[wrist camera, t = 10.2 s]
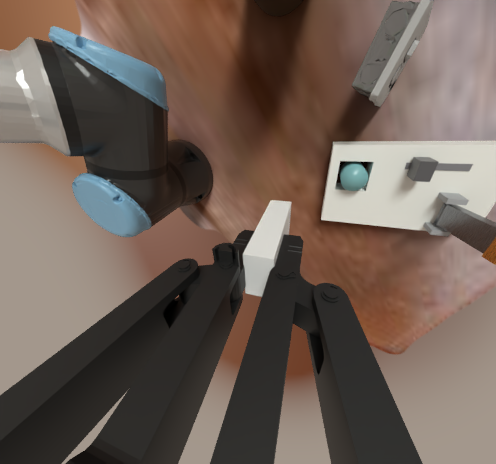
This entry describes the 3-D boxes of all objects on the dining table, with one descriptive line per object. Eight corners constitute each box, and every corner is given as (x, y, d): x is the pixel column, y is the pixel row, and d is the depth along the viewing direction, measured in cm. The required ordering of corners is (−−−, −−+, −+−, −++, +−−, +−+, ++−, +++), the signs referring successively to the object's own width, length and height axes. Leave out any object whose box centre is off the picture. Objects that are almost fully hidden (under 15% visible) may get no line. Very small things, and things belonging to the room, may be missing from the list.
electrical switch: (379, 107, 31) (389, 105, 24) (348, 97, 32) (347, 92, 25) (426, 26, 26) (456, -8, 19) (386, 17, 27) (400, -19, 20)
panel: (321, 211, 43) (320, 226, 38) (332, 141, 36) (334, 147, 30) (460, 224, 36) (483, 245, 31) (510, 140, 29) (553, 148, 23)
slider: (406, 175, 31) (413, 181, 29) (413, 156, 30) (421, 161, 27) (421, 176, 31) (429, 181, 28) (429, 157, 29) (438, 161, 27)
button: (337, 181, 38) (338, 190, 34) (341, 159, 36) (343, 166, 32) (360, 182, 37) (364, 191, 33) (366, 160, 35) (371, 167, 31)
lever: (428, 222, 33) (494, 264, 24) (439, 200, 31) (516, 237, 22) (440, 222, 33) (511, 263, 24) (452, 200, 31) (534, 236, 22)
